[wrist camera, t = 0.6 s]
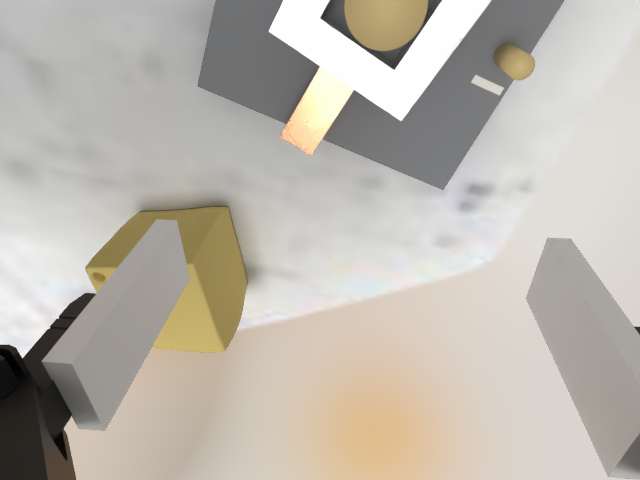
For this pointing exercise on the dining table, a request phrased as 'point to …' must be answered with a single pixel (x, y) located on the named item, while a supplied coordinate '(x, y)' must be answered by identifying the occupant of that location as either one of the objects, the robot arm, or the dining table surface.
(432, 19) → the handled square frame
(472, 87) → the jig
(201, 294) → the cheese
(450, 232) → the dining table surface
